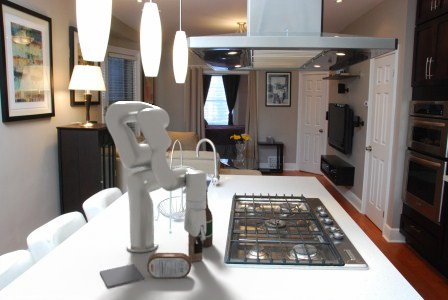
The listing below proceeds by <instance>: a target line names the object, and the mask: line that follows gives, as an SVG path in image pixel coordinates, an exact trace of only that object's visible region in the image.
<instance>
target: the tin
mask: <svg viewBox="0 0 448 300" xmlns="http://www.w3.org/2000/svg"><path fill="white" fill-rule="evenodd" d="M192 264H193V261H192V260H191V259H190V258H189V256H188V255H187V254H186V253H183V252H156V253H154V254H152V255H151V256H150V257H149V258H148V260H147V264H146V269H147V272H148V274H149V275H150V276H151V277H153V278H154V279H155V278H156V279H182V278H186V277H187V276H189V274H190V272H191V270H192V267H193V266H192Z"/></svg>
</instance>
